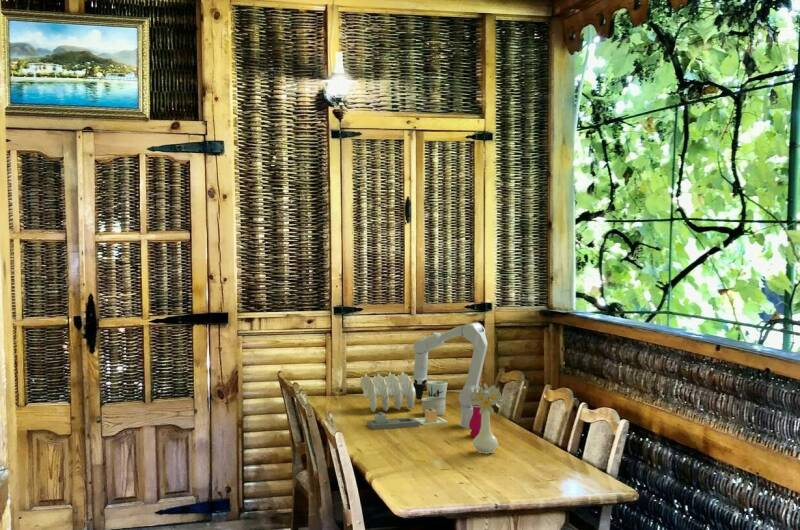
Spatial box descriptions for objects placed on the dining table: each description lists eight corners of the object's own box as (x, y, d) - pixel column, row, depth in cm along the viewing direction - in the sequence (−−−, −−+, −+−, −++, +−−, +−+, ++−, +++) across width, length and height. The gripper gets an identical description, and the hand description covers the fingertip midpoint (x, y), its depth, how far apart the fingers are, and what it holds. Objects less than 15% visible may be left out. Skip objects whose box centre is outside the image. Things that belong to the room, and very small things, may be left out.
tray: (448, 424, 367) (448, 421, 367) (422, 426, 364) (422, 423, 364) (438, 419, 378) (438, 416, 378) (413, 421, 375) (413, 418, 375)
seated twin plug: (386, 427, 360) (386, 413, 360) (377, 428, 359) (377, 413, 359) (383, 425, 364) (383, 411, 364) (374, 426, 363) (374, 412, 363)
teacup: (436, 419, 379) (436, 401, 379) (416, 416, 385) (416, 398, 385) (453, 414, 390) (453, 396, 390) (434, 411, 397) (434, 394, 396)
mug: (423, 404, 415) (423, 383, 414) (431, 398, 429) (431, 378, 429) (444, 405, 412) (444, 384, 411) (451, 399, 426) (451, 379, 426)
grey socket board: (419, 427, 362) (419, 421, 362) (373, 430, 355) (373, 425, 355) (411, 422, 371) (411, 417, 371) (367, 426, 365) (366, 420, 365)
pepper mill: (486, 438, 341) (486, 388, 341) (468, 437, 343) (468, 388, 342) (487, 434, 348) (487, 385, 348) (470, 433, 350) (470, 385, 349)
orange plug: (436, 422, 370) (436, 408, 370) (428, 423, 368) (428, 409, 368) (433, 420, 373) (433, 407, 373) (424, 421, 372) (424, 407, 372)
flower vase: (474, 459, 308) (474, 390, 308) (465, 447, 327) (465, 382, 326) (509, 458, 310) (509, 389, 309) (498, 446, 328) (498, 381, 327)
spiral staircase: (417, 419, 399) (366, 420, 390) (405, 397, 414) (356, 397, 405) (425, 386, 391) (373, 387, 383) (413, 365, 406) (363, 365, 398)
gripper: (412, 363, 381) (410, 393, 382) (411, 369, 367) (409, 400, 367) (428, 364, 381) (426, 394, 381) (427, 370, 366) (425, 401, 367)
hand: (419, 397), depth 374 cm, fingers open, 7 cm apart
